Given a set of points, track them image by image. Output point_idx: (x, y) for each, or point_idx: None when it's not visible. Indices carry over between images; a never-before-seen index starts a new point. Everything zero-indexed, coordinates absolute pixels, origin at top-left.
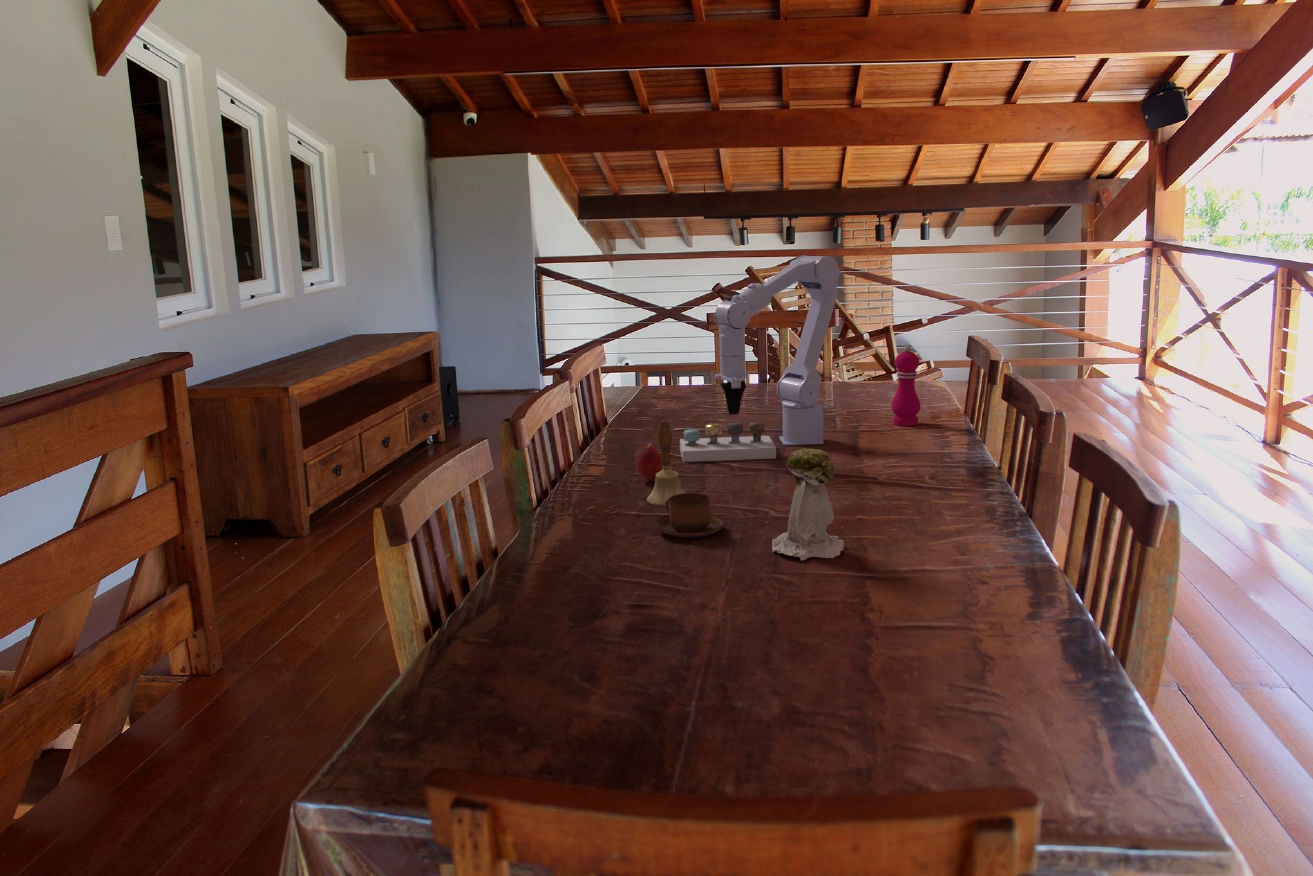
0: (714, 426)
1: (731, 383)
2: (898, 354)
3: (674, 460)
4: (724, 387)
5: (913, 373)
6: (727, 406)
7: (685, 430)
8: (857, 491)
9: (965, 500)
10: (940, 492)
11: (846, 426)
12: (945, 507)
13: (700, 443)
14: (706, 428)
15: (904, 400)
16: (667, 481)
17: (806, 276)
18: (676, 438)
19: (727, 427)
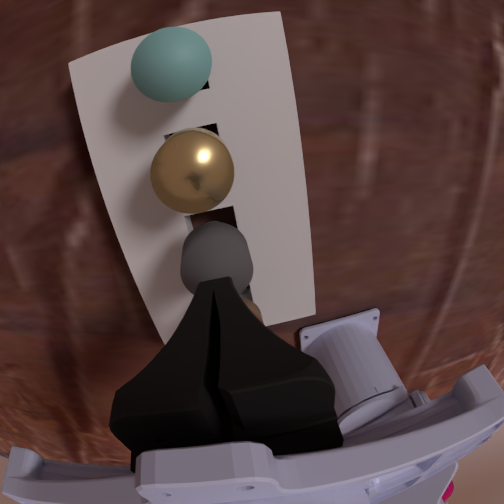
0: (157, 186)
1: (15, 471)
2: (448, 494)
3: (106, 31)
4: (112, 414)
5: None
6: (205, 300)
7: (184, 31)
8: (20, 408)
9: (51, 459)
10: (64, 455)
11: (425, 379)
12: (22, 445)
13: (198, 100)
14: (167, 140)
15: None
16: None
17: None
18: (420, 23)
19: (203, 235)
